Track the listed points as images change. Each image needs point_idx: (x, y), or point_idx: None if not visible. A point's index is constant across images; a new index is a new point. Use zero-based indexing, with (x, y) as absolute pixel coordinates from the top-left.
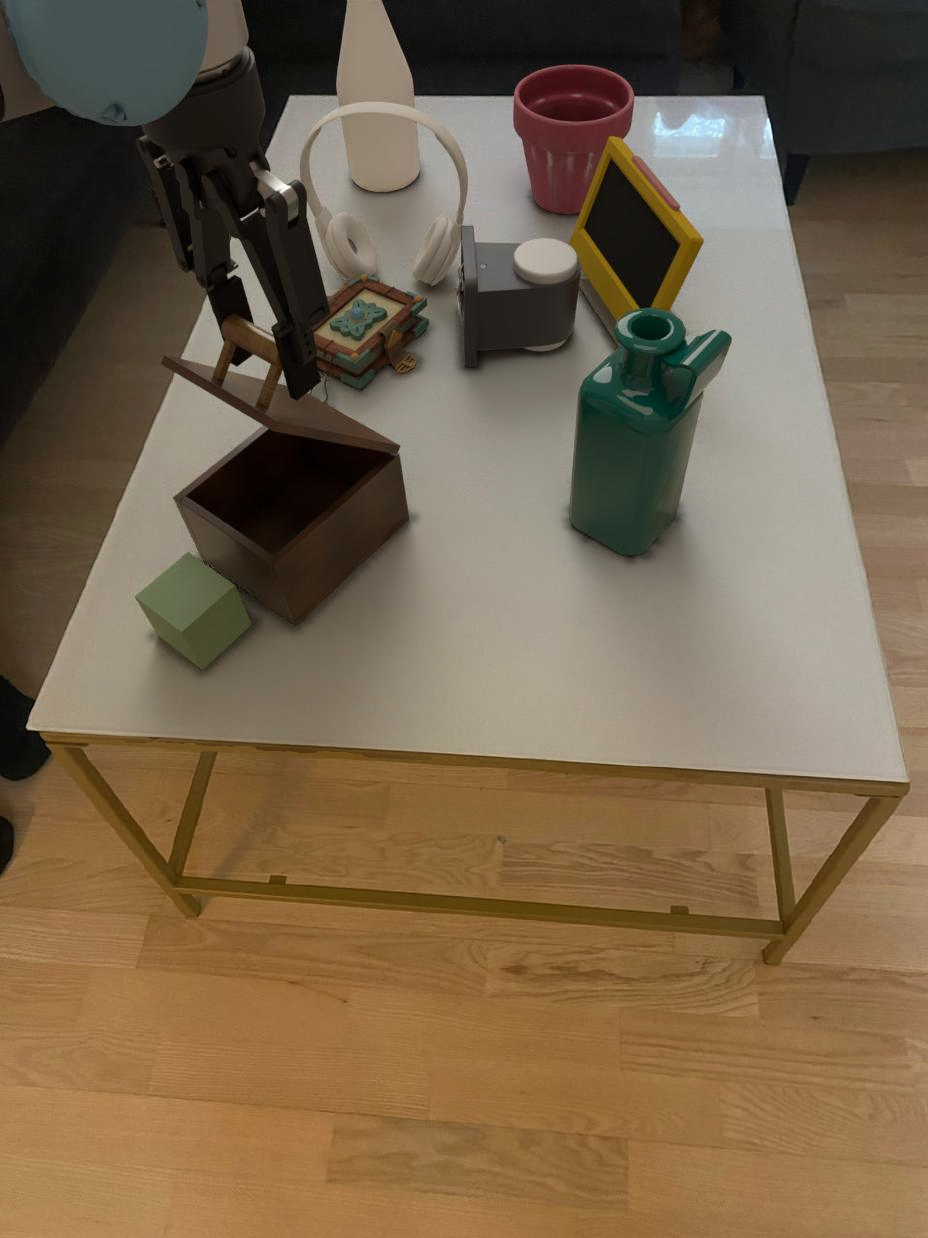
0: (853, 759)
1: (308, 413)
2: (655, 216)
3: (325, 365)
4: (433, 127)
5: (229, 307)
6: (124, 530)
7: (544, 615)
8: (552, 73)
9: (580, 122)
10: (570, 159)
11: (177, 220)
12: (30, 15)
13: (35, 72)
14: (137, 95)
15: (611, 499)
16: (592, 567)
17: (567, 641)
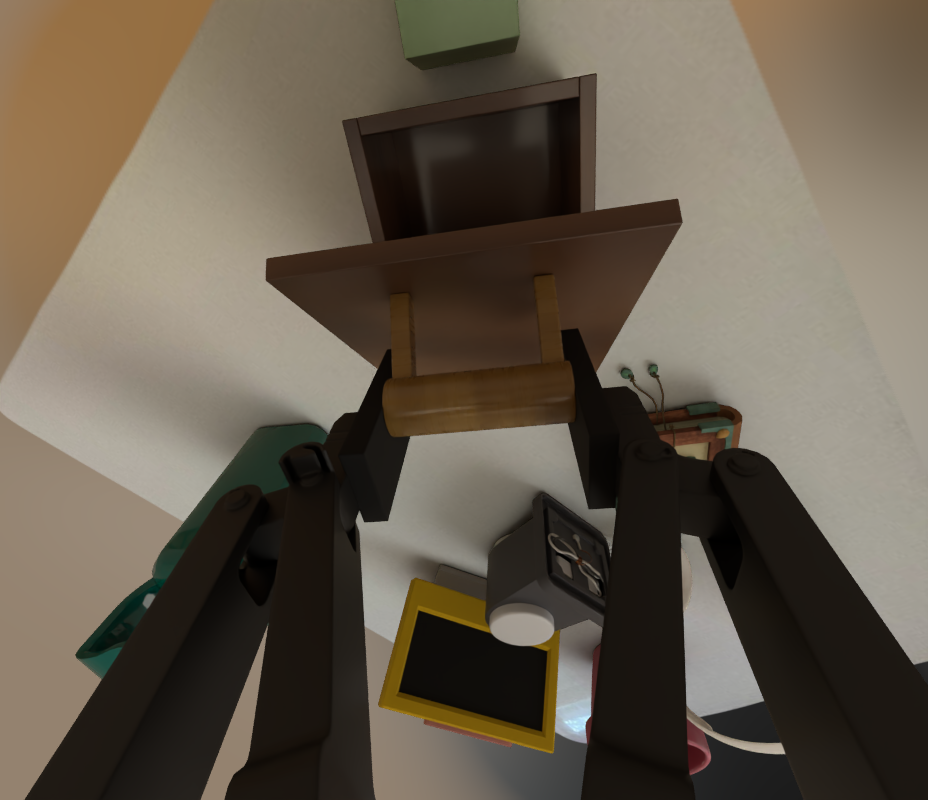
0: (8, 398)
1: (443, 348)
2: (448, 703)
3: (670, 416)
4: (710, 733)
5: (579, 428)
6: (724, 13)
7: (239, 339)
8: (691, 766)
9: None
10: None
11: (795, 642)
12: None
13: None
14: None
15: (245, 468)
16: (265, 403)
17: (201, 332)
